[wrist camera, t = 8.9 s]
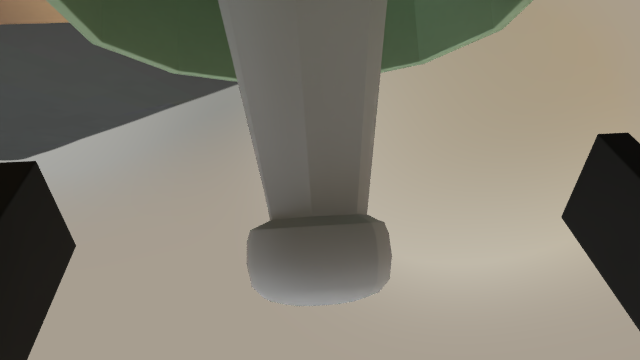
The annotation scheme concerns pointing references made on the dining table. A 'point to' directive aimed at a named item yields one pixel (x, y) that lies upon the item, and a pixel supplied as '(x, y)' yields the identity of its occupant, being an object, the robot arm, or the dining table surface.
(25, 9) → the wooden board
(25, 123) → the dining table surface
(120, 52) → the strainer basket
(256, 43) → the salt shaker
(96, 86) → the dining table surface
